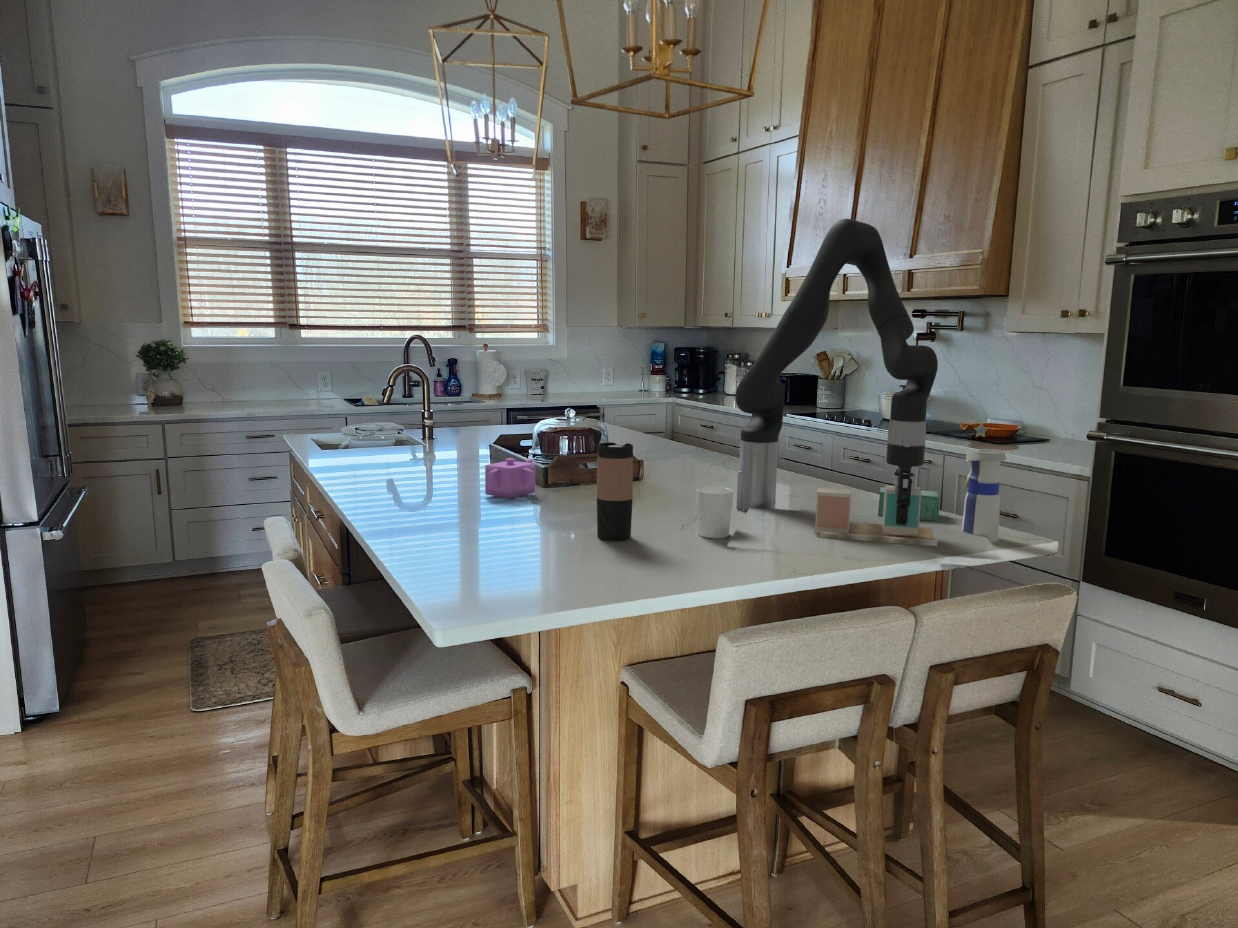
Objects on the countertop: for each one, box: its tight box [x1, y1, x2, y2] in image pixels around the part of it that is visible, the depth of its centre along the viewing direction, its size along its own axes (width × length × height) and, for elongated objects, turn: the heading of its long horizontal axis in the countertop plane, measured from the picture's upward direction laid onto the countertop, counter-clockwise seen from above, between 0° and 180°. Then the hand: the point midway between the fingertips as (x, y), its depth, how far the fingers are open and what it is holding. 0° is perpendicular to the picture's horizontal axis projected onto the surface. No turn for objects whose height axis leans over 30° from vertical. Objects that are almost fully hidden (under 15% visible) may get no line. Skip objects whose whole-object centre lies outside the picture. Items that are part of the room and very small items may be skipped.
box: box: [877, 487, 940, 521], centre depth 205 cm, size 7×14×8 cm, turn 72°
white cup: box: [696, 486, 734, 539], centre depth 188 cm, size 8×8×10 cm
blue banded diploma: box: [961, 422, 1007, 543], centre depth 188 cm, size 8×9×25 cm
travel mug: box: [596, 442, 634, 542], centre depth 184 cm, size 8×8×20 cm
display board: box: [816, 521, 939, 547], centre depth 188 cm, size 24×17×2 cm
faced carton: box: [814, 487, 852, 534], centre depth 187 cm, size 7×5×9 cm
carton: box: [882, 485, 922, 534], centre depth 183 cm, size 7×5×9 cm
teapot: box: [484, 457, 536, 501], centre depth 228 cm, size 18×14×10 cm
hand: (900, 521), depth 183 cm, fingers closed on carton, 5 cm apart
